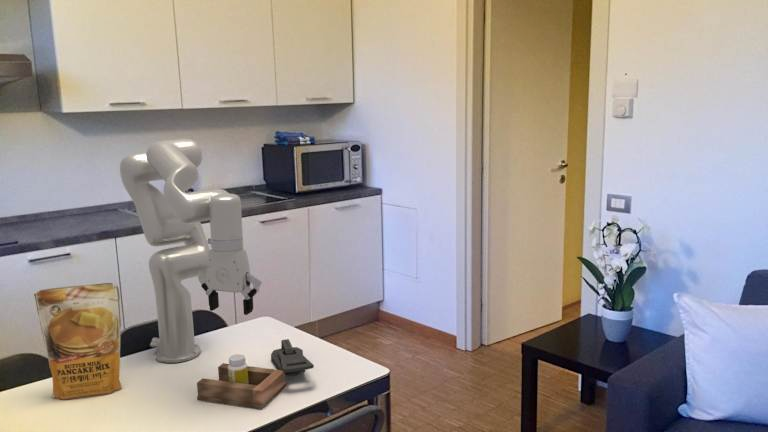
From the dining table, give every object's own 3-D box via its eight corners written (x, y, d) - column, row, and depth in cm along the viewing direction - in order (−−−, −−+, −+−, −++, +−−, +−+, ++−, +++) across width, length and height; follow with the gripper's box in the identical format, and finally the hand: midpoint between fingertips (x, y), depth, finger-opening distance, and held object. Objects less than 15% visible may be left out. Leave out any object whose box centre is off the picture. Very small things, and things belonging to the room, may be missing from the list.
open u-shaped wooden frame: (197, 400, 161) (195, 383, 160) (225, 378, 173) (224, 362, 173) (262, 409, 156) (261, 392, 155) (286, 386, 168) (285, 369, 167)
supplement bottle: (252, 385, 166) (250, 354, 165) (242, 393, 162) (240, 362, 160) (236, 383, 168) (233, 352, 166) (225, 391, 164) (223, 359, 162)
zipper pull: (281, 369, 162) (268, 335, 186) (282, 394, 164) (269, 357, 187) (316, 364, 165) (299, 331, 188) (317, 389, 166) (300, 352, 190)
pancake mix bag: (50, 391, 168) (36, 287, 163) (129, 381, 173) (118, 279, 168) (44, 403, 162) (30, 295, 156) (126, 392, 167) (115, 287, 161)
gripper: (187, 245, 159) (192, 312, 162) (250, 251, 153) (254, 320, 157) (205, 238, 166) (209, 302, 169) (266, 243, 160) (269, 309, 164)
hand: (231, 311), depth 163 cm, fingers open, 9 cm apart
